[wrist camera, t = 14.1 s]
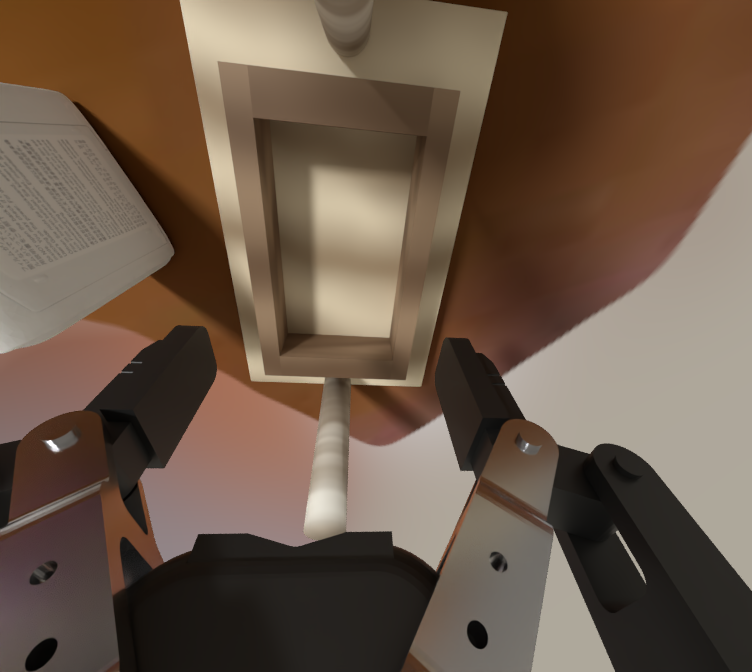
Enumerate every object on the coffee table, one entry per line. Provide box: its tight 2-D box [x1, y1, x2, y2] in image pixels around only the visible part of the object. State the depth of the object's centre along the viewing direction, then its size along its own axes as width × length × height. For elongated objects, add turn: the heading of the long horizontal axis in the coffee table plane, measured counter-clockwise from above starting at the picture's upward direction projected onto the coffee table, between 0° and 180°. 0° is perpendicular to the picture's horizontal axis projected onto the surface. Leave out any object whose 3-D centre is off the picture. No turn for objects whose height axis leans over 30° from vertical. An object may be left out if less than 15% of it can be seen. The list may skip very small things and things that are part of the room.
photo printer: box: [0, 83, 174, 353], centre depth 14 cm, size 10×4×12 cm, turn 18°
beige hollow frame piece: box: [180, 0, 508, 541], centre depth 16 cm, size 24×15×14 cm, turn 175°
